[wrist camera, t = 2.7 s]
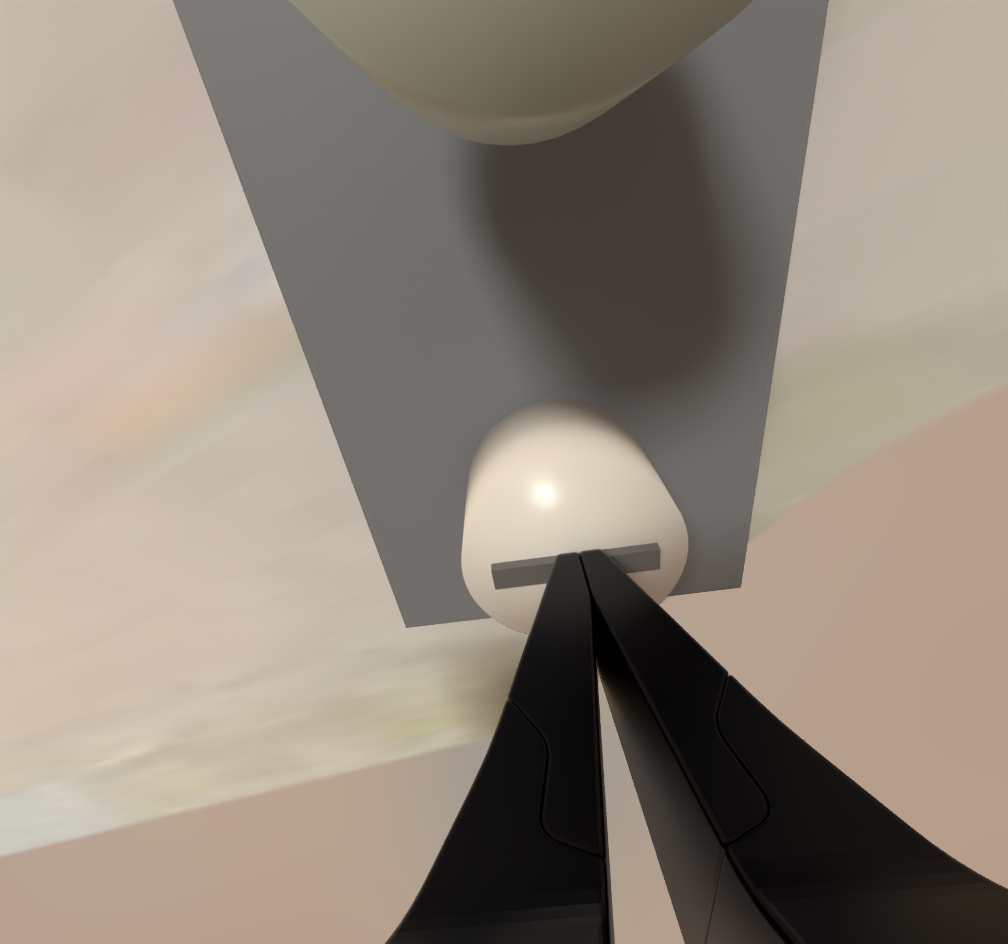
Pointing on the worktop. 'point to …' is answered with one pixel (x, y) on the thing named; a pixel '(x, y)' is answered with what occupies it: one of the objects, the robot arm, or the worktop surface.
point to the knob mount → (525, 270)
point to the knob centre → (515, 56)
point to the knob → (564, 507)
